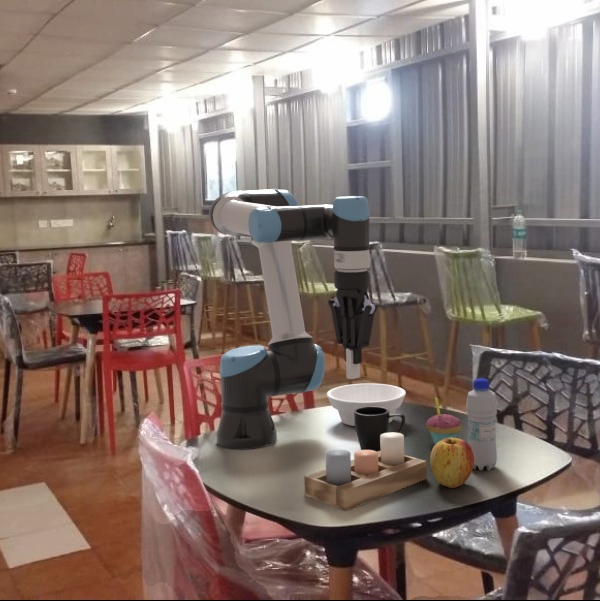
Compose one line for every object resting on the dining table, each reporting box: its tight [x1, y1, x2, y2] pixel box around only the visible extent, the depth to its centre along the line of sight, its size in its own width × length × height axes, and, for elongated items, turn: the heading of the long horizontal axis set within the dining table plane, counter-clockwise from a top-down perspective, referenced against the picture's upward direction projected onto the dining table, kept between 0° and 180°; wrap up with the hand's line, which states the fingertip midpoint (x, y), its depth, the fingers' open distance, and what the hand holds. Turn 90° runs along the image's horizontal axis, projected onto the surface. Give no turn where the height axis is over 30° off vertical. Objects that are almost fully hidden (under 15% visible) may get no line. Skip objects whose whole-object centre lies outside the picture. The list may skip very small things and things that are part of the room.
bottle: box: [465, 377, 498, 471], centre depth 180 cm, size 7×7×20 cm
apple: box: [429, 437, 474, 489], centre depth 171 cm, size 9×9×10 cm
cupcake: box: [425, 394, 463, 445], centre depth 198 cm, size 9×8×12 cm
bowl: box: [326, 383, 407, 427], centre depth 219 cm, size 21×21×8 cm
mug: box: [354, 406, 406, 452], centre depth 195 cm, size 8×12×10 cm
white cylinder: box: [380, 431, 405, 466], centre depth 176 cm, size 5×5×6 cm
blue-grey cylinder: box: [325, 449, 352, 486], centre depth 166 cm, size 5×5×6 cm
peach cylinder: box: [353, 449, 379, 476], centre depth 171 cm, size 5×5×6 cm
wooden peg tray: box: [303, 451, 428, 511], centre depth 171 cm, size 12×24×4 cm, turn 131°
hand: (353, 377), depth 178 cm, fingers closed
